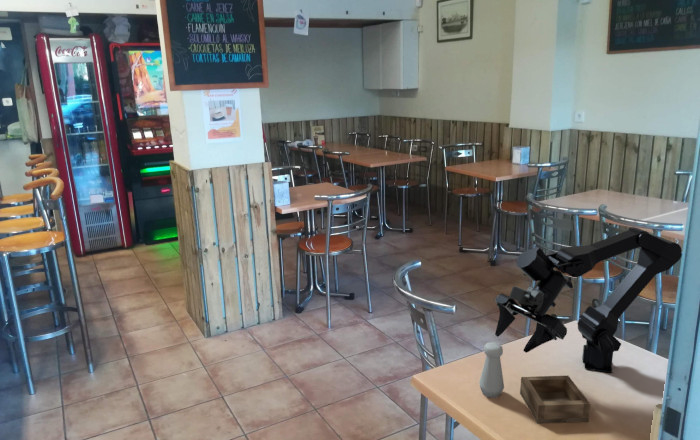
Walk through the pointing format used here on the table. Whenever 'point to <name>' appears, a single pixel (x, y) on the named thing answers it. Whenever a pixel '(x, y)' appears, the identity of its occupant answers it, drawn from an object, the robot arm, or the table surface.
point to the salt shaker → (492, 371)
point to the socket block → (554, 399)
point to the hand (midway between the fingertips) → (510, 343)
